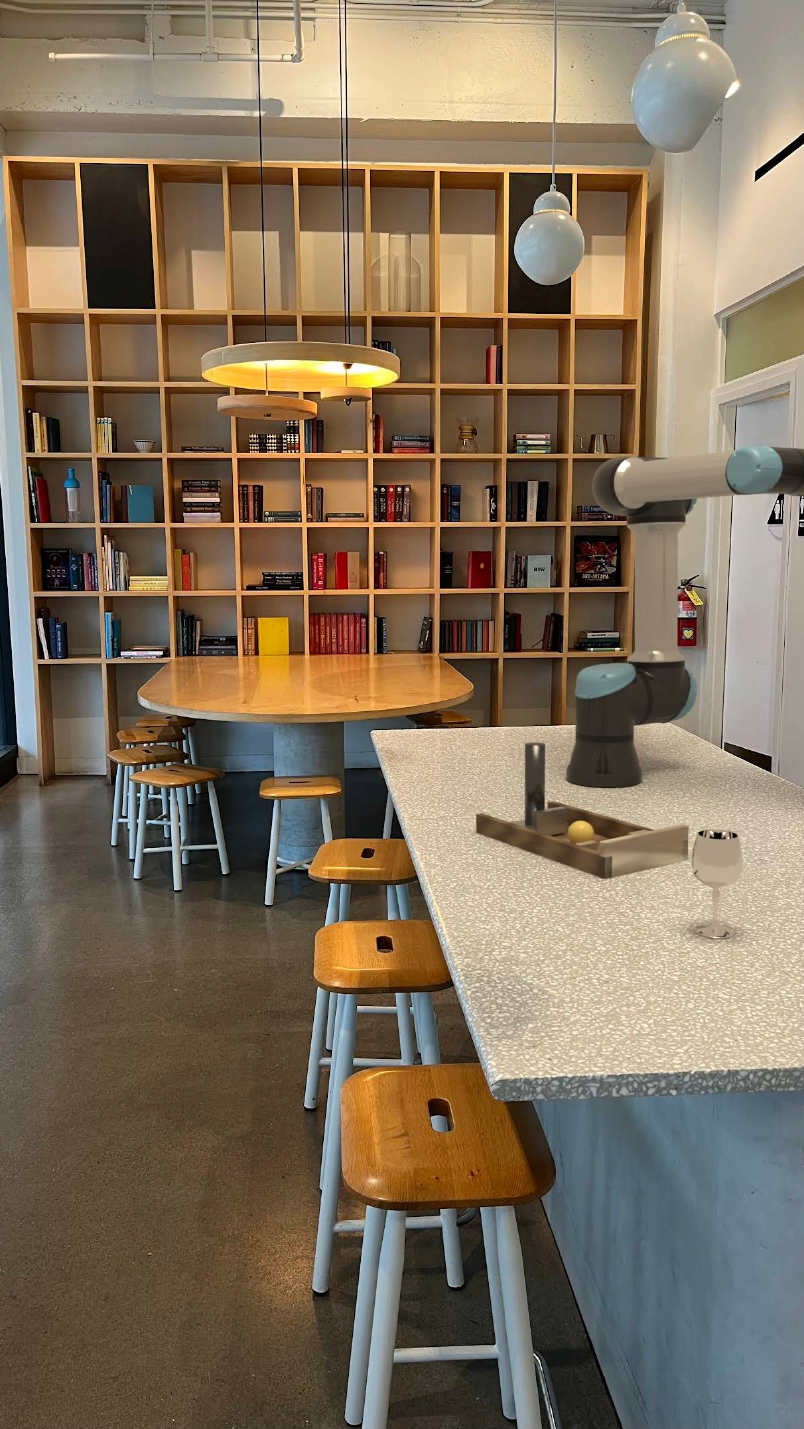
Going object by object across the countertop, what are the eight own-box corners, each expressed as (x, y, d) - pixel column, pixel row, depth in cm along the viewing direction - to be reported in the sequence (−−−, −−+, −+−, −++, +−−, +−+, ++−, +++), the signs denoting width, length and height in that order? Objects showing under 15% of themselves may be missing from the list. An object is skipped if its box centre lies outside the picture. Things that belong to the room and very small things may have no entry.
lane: (476, 839, 165) (476, 802, 164) (552, 825, 173) (553, 789, 172) (605, 887, 139) (605, 843, 139) (687, 867, 148) (688, 826, 147)
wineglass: (682, 924, 125) (685, 829, 123) (728, 922, 125) (731, 827, 123) (700, 941, 119) (703, 841, 117) (748, 939, 119) (751, 839, 118)
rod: (501, 829, 165) (500, 744, 163) (544, 821, 169) (544, 738, 167) (529, 839, 159) (529, 751, 157) (573, 831, 163) (574, 744, 161)
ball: (561, 845, 156) (562, 820, 155) (581, 841, 158) (582, 816, 157) (579, 851, 153) (579, 825, 152) (599, 847, 155) (599, 821, 154)
